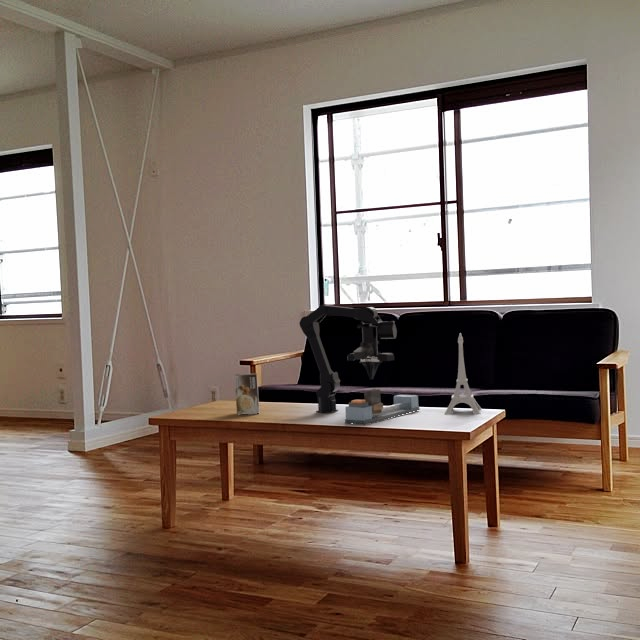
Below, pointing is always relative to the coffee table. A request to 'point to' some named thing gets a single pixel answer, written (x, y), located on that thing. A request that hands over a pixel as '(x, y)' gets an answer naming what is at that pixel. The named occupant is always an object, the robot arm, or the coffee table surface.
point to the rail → (363, 412)
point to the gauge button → (357, 401)
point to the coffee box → (247, 393)
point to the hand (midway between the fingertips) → (371, 379)
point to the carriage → (374, 400)
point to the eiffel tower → (463, 381)
